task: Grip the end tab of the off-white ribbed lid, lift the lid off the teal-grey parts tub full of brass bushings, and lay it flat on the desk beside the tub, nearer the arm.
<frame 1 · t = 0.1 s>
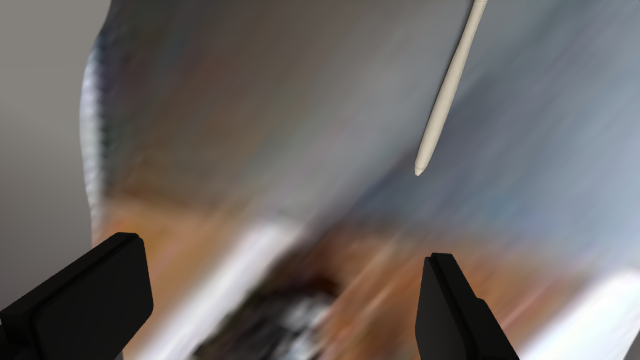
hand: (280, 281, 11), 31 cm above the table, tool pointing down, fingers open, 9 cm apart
gavel: (460, 40, 37), on the table
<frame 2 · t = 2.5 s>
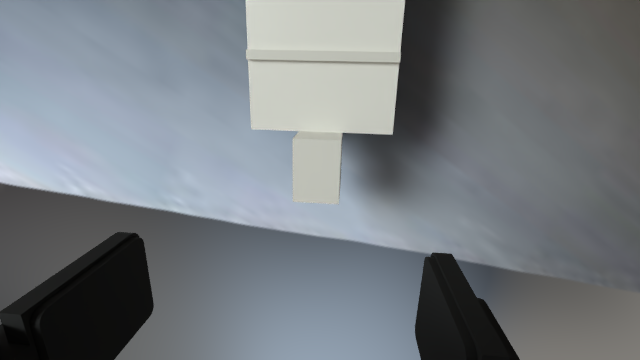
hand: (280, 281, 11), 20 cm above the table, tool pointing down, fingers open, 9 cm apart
lid: (324, 15, 21), point 6 cm above the table, touching tub
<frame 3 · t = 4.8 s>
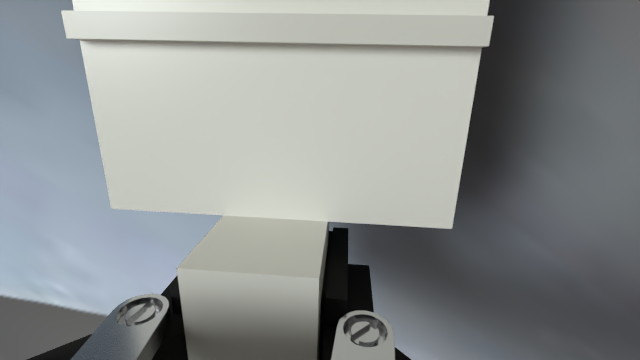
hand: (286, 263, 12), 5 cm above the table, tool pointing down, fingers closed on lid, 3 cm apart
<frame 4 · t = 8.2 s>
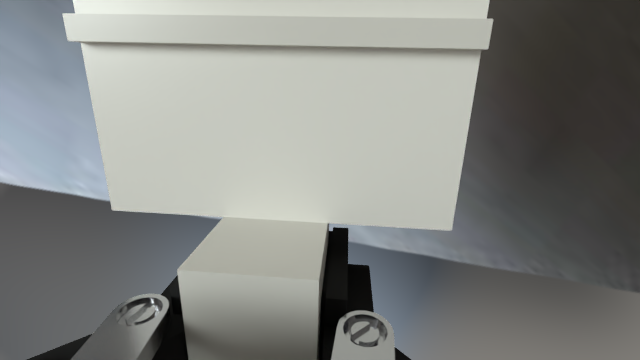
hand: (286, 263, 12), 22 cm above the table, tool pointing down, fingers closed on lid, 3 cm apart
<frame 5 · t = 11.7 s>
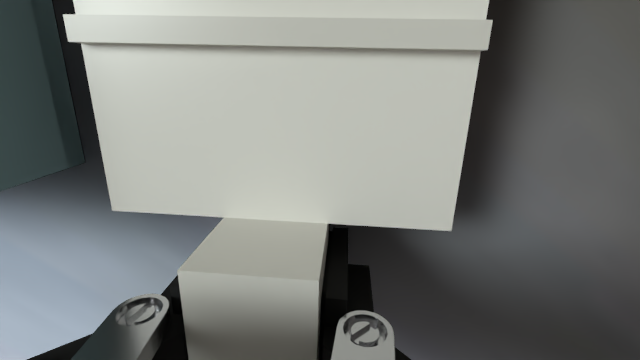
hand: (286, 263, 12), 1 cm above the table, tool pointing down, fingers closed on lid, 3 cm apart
when the fingers open (1 cm above the table, at t = 12.1 s): lid drops 2 cm, on the table.
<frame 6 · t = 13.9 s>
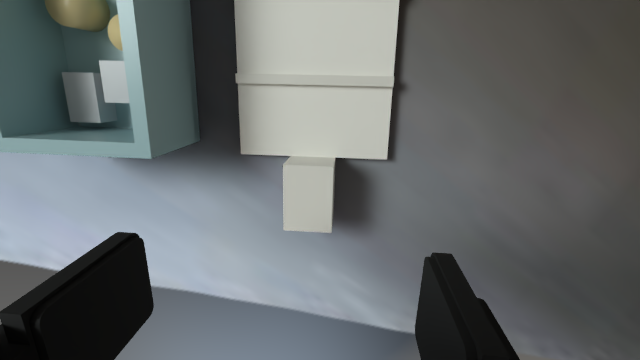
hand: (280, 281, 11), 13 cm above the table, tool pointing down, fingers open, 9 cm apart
tub: (125, 31, 21), on the table
lid: (315, 39, 21), on the table
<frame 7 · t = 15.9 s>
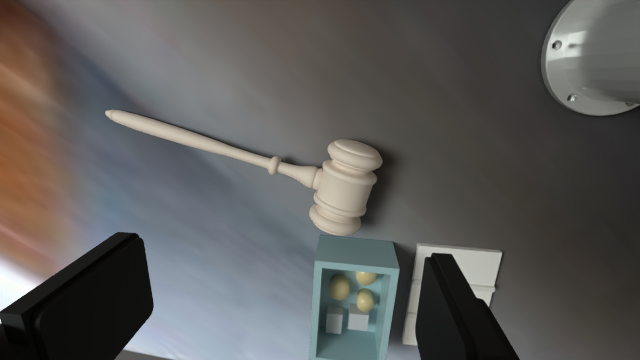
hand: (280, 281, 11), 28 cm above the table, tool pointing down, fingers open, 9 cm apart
tub: (350, 286, 43), on the table
lid: (447, 297, 42), on the table
gavel: (240, 148, 39), on the table
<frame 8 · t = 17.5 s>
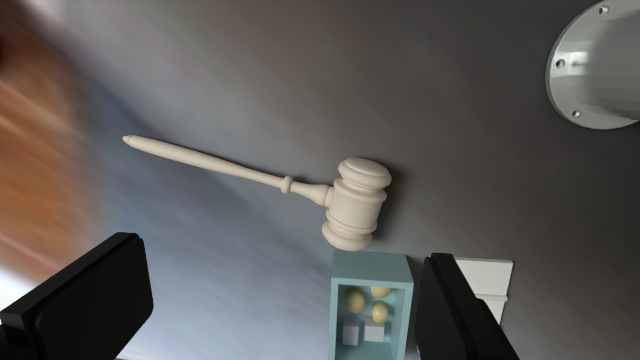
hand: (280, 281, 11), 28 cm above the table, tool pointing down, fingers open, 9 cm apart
tub: (365, 298, 44), on the table
lid: (460, 306, 43), on the table
gavel: (253, 168, 40), on the table
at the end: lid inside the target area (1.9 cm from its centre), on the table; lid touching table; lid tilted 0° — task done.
